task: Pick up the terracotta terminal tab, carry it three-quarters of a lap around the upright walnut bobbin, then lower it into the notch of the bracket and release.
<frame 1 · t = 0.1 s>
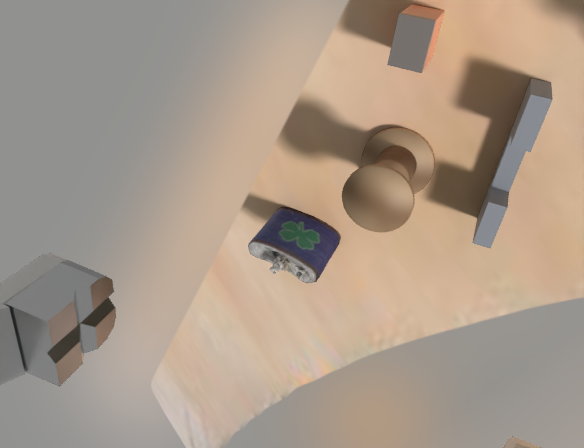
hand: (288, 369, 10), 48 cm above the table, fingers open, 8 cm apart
flask 2: (309, 223, 68), on the table
bobbin: (398, 161, 59), on the table
tab: (422, 31, 51), on the table
bracket: (511, 156, 54), on the table
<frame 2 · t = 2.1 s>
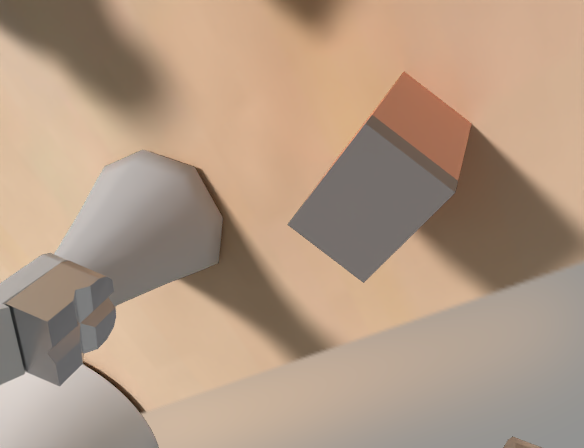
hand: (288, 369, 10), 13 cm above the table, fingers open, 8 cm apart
flask: (167, 210, 27), on the table
tab: (400, 141, 21), on the table
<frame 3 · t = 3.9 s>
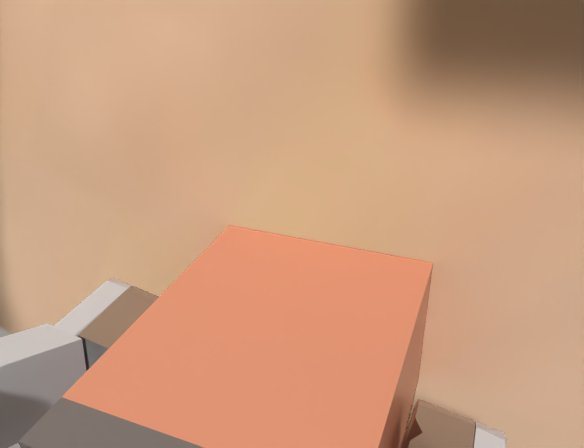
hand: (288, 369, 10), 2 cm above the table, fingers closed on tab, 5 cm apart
tab: (323, 302, 12), on the table, touching gripper
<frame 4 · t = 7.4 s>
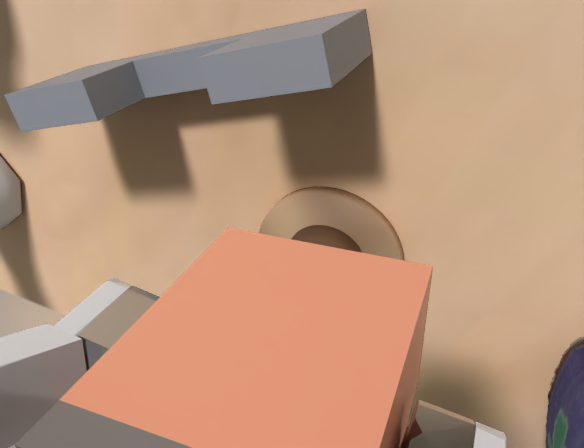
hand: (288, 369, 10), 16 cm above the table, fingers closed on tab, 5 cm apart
flask 2: (580, 399, 27), on the table
bobbin: (330, 253, 28), on the table
tab: (323, 305, 12), point 14 cm above the table, touching gripper
bracket: (211, 60, 26), on the table
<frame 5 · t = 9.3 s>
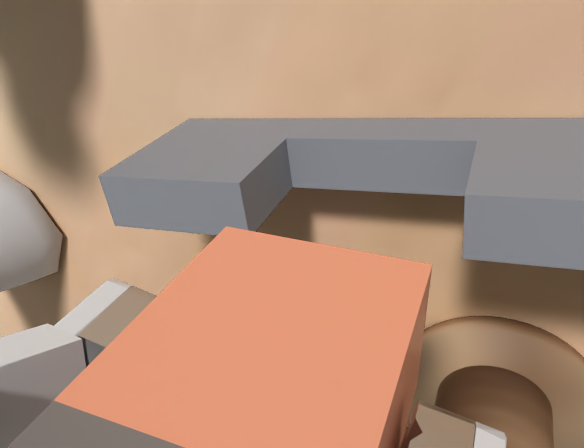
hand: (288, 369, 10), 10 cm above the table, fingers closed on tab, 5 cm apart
bobbin: (493, 391, 22), on the table
flask: (14, 221, 29), on the table
tab: (322, 304, 12), point 8 cm above the table, touching gripper
bracket: (389, 143, 18), on the table
when the fingers open (6 cm above the table, at t = 10.9 s): tab drops 2 cm, resting on bracket.
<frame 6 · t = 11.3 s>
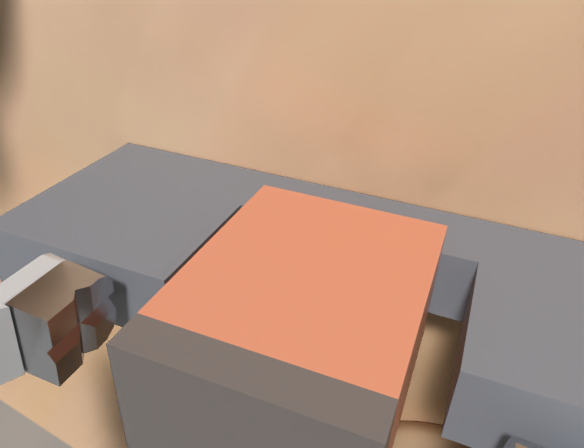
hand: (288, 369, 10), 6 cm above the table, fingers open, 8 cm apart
tab: (345, 259, 13), point 2 cm above the table, touching bracket
bracket: (368, 223, 15), on the table
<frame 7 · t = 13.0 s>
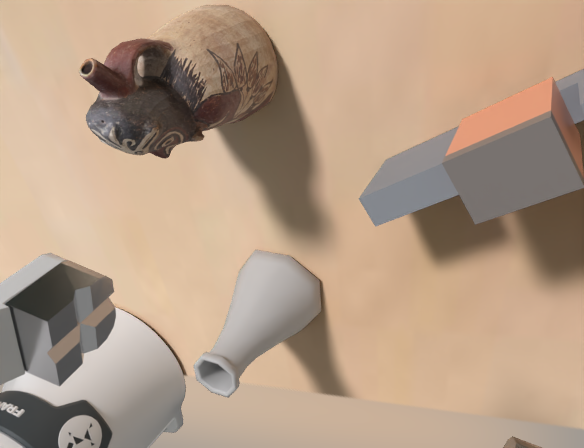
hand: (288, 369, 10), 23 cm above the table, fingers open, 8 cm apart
figurine: (230, 61, 33), on the table
flask: (282, 286, 41), on the table
tab: (519, 127, 26), point 2 cm above the table, touching bracket
bracket: (523, 114, 28), on the table
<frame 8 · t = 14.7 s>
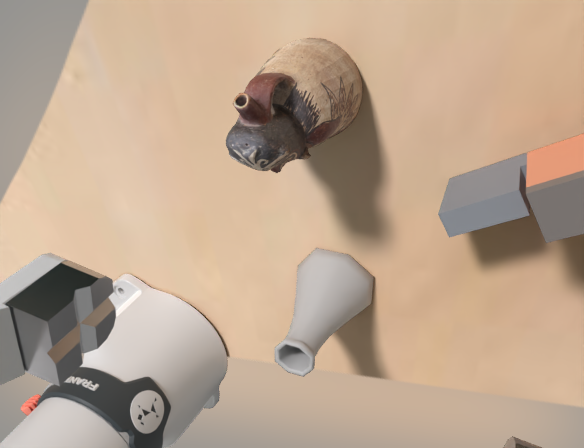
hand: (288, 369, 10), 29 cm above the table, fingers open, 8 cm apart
figurine: (317, 85, 38), on the table
flask: (335, 281, 47), on the table
tab: (574, 162, 32), point 2 cm above the table, touching bracket
bracket: (574, 150, 34), on the table
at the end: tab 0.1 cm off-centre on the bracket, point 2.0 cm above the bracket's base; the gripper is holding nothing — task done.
